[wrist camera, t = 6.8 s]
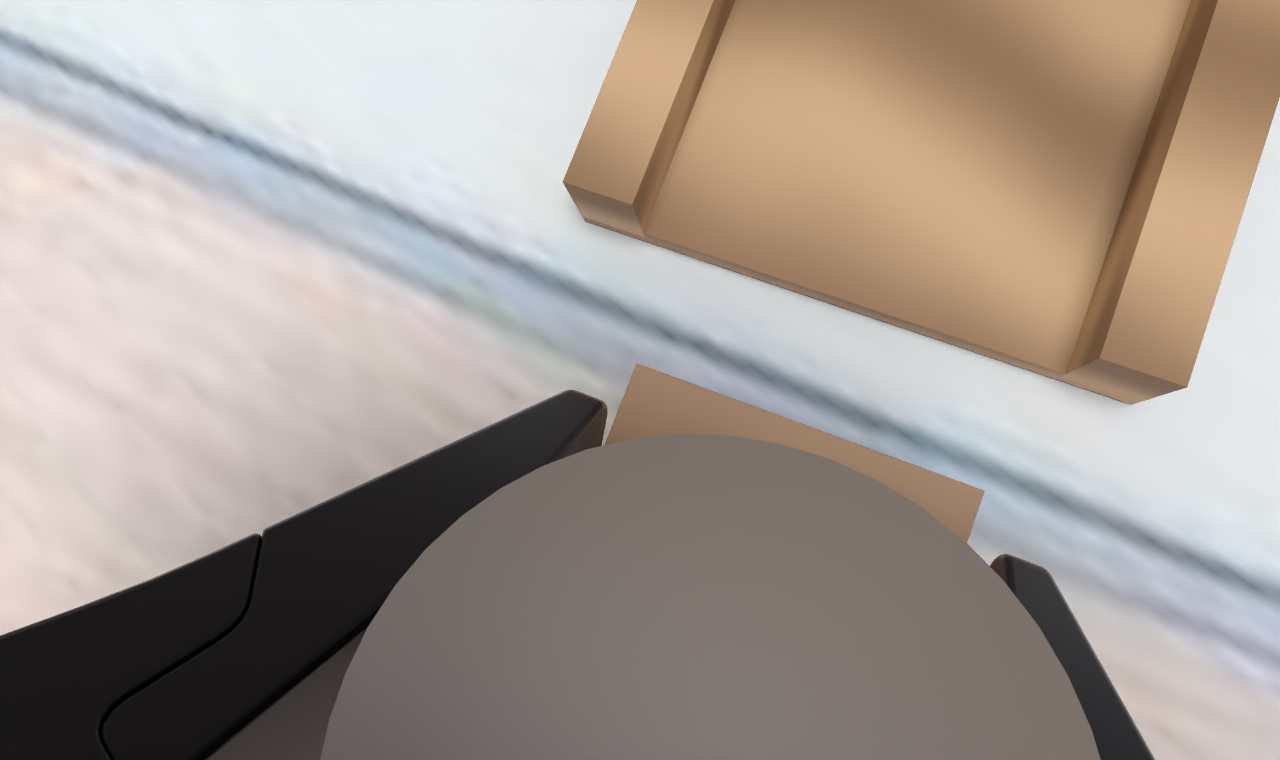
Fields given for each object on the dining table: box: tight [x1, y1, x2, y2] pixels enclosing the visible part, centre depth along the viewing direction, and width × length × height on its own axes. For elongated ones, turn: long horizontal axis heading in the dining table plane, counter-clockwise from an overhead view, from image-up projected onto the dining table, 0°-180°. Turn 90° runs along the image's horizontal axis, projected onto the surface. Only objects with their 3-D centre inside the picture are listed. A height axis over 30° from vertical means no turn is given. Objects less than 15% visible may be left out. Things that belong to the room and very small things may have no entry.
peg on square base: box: [320, 364, 1101, 760], centre depth 11 cm, size 6×6×15 cm
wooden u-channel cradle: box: [563, 0, 1280, 405], centre depth 17 cm, size 12×12×4 cm
